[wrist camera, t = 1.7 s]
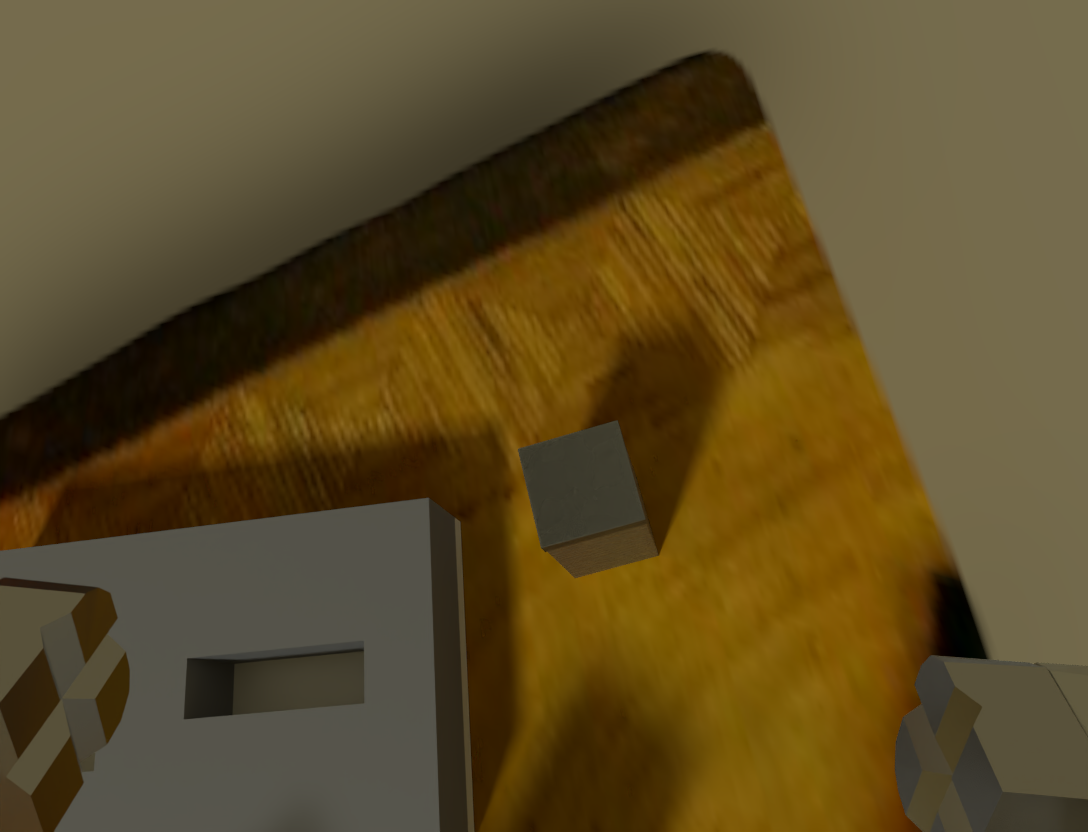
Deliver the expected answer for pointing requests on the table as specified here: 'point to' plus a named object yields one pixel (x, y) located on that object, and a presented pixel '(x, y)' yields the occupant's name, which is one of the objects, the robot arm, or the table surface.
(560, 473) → the grey square-topped block
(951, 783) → the robot arm
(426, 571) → the caddy
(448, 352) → the table surface
